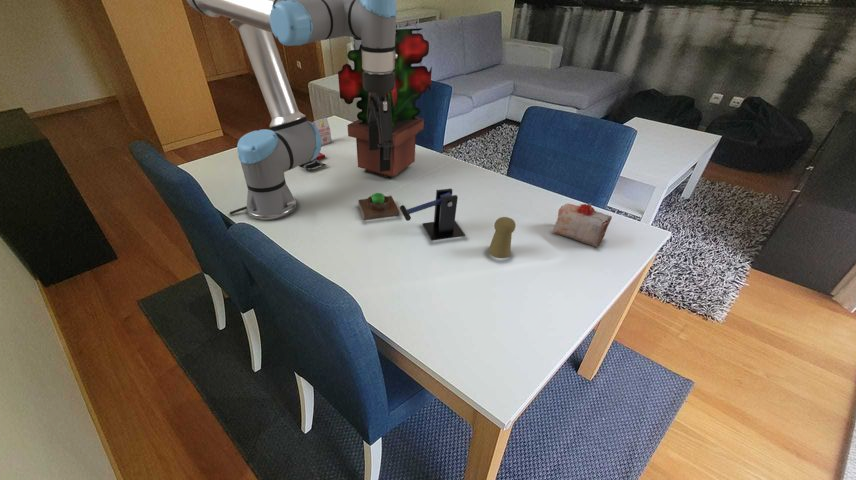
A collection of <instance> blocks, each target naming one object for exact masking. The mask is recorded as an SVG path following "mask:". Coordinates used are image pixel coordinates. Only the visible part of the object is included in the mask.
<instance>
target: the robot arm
mask: <svg viewBox="0 0 856 480" xmlns="http://www.w3.org/2000/svg"><path fill="white" fill-rule="evenodd" d="M185 1H186V2H187V4H188V5H189V6H190V7H191V8H192V9H193V10H195V11H196V12H198V13H200V14H202V15H205V16H208V17H211V18H220V17H221V16H222V17H225V18H227V20H228V22H229V25H231V26H232V27H234V28H236V29H237V30H238V33H239V36H240V38H241V41H242V44H243V47H244V49H245V52H246V54H247V57H248V59H249V63H250V65H251V68H252V70H253V73H254V75H255V78H256V80H257V83H258V86H259V89H260V91H261V94H262V96H263V99H264V102H265V105H266V107H267V110H268V113H269V115H270V118H271V121H270V123H269V126H268V127H269V129H266V128H265V129H259V130H253V131H250V132H247V133H245V134H244V135H242V136H241V137H240V138H239V139H238V141H237V144H236V147H237V154H238V156H237V157H238V160H239V162H240V165H241V169H242V173H243V176H244V181H245V184H246V187H247V196H246V206H243V207H240V208H237V209H234V210H231V211H230V212H229V215H233V214H237V213H239V212H241V211H242V212H243V211H245V210H247V213H248V215H249V216H250V217H251V218H253V219H255V220H259V221H273V220H278V219H283V218H284V217H287V216H289V215H291V214H292V213H293V212H294V211H295V209H296V207H297V200H296V199H295V197H294V195H293V193H292V192H291V189H290V188H289V186H288V185H287V181H286V177H285V173H286V172H288V171H291V170H293V169H296V168H297V167H300V165H302V164H304V163H308V162H310V161H311V160H313V159H315V158H316V157H317V156H318V155H319V153H321V151H322V146H321V136H320V133H319V131H318V129H317V127H315V125H314V124H313V121H309V120H308V119H307V116H306V114H303V113H302V112H301V111H300V110H299V107H298V104H297V102H296V99H295V96H294V93H293V91H292V87H291V85H290V82H289V78H288V76H287V73H286V70H285V67H284V63H283V60H282V58H281V55H280V52H279V49H278V47H277V44H276V40H275V39H277V40H278V42H279V43H280V44H281V45H283V46H286V47H292V46H293V47H294V46H296V47H301V46H303V45H306V44H311V43H315V42H320V41H326V40H332V39H337V38H342V37H349V38H350V37H351V38H353V37H356V38H361V40H360V41H361V44H362V69H363V70H364V72H363V89H364V90H365V91H367V92H368V107H367V117H366V118H367V120H368V124H369V125H370V126H368V127H369V150H379V171H380V172H381V171H390V161H391V147H392V146H393V135H392V123H391V109H390V105H391V102H390V101H388V99H387V98H386V93H387V92H391V91H392V90H394V88H395V73H394V72H393V70H394V69H395V59H396V58H397V54H395V34H396V29H397V16H398V11H397V0H185ZM274 37H275V38H274ZM385 111H386V112H385ZM376 124H378V125H376ZM379 137H380V144H379Z"/></svg>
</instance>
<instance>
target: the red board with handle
mask: <svg viewBox="0 0 856 480" xmlns="http://www.w3.org/2000/svg"><path fill="white" fill-rule="evenodd" d="M322 159H326V155H325V154H323V153H321V152H320V153H319V155H318V156H317V157H316V158H315V159H313V160H311V161H310V162H308V163H304V164H302V165H300V166H299V168H302V169H303V170H305V171H309V172H310V171H312V170H314V169H315V170H316V169H318V168H321V167H323V166H324V167H325V166H327V164H326V163H323V162H322V161H320V160H322Z"/></svg>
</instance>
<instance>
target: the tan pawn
mask: <svg viewBox="0 0 856 480" xmlns="http://www.w3.org/2000/svg"><path fill="white" fill-rule="evenodd" d="M493 226H494V230H495V231H494V233H493V236H492V238H491V242H490V245H489V247H488V249H487V252H488V254H489V255H490V256H492V257H493V258H497V259H506V258H508V257H509V256H510V255H511V248H512V247H511V246H512V233H514V232H515V231H516V227H517V225H516V222H515V220H514V219H513V218H511V217H508V216H501V217H498V218H497V219H496V220H495V222H494V225H493Z"/></svg>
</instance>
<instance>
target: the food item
mask: <svg viewBox="0 0 856 480" xmlns="http://www.w3.org/2000/svg"><path fill="white" fill-rule="evenodd" d="M557 212H558V213H557V218H556V220H555V225H554V228H553V234H556V235H559V236H563V237H567V238H569V239H572V240H575V241H576V242H577V241H578V242H580V243H583V244H586V245H589V246H592V247H594V248H599V247H600V246H601V244H602V242H603V239H604V237H605V235H606V232H607V229H608V227H609V225H610V224H611V221H612V218H613V216H612V215H609V214H606V213H603V212H599V211H596V210H595V208H594V207H592V203H591V202H589V203H583V204H580V205H575V204H571V203H565V204H563V205H562V206H560V207H559V209H558V211H557Z"/></svg>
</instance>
